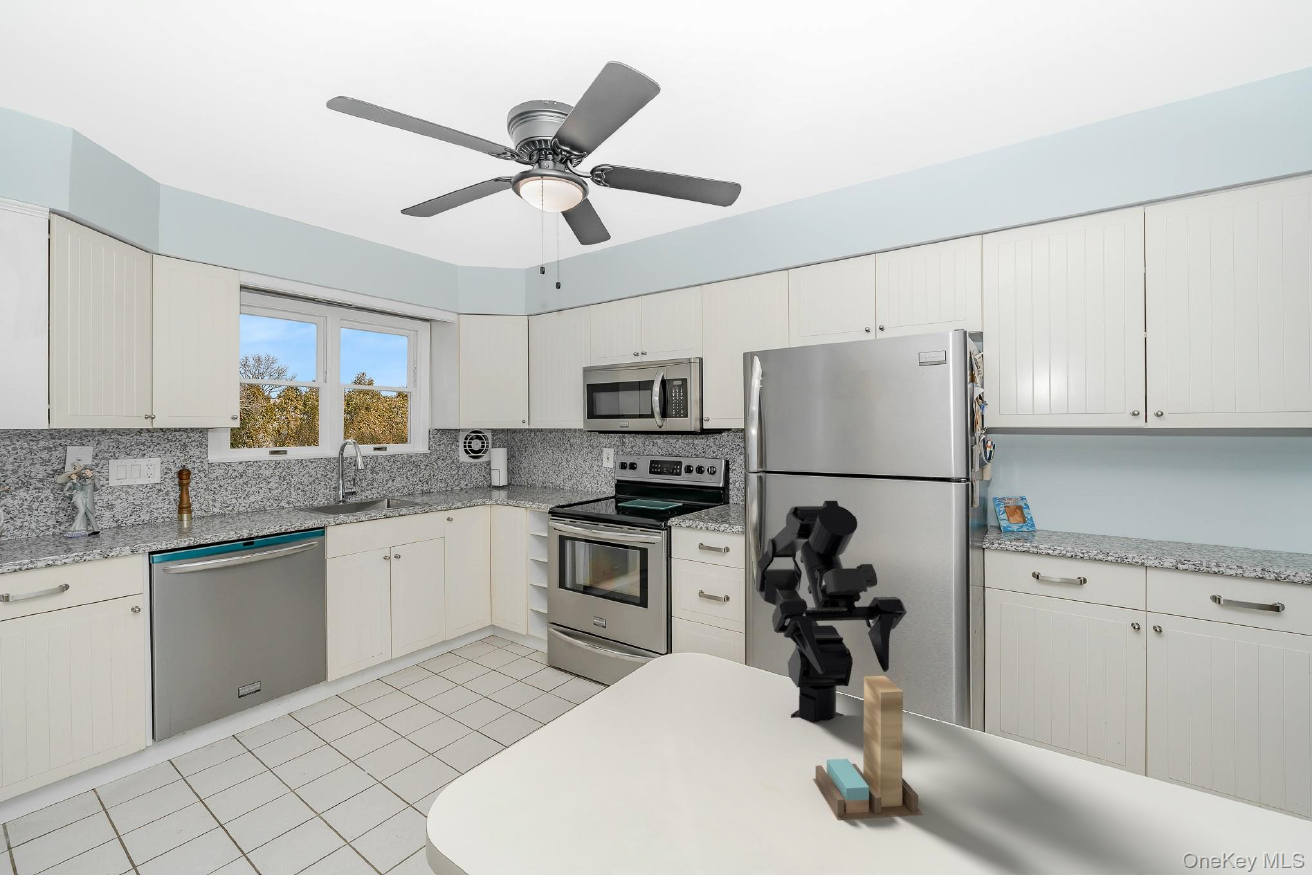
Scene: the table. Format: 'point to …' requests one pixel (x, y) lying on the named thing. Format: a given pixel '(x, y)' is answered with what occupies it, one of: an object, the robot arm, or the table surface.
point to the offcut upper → (847, 780)
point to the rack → (875, 808)
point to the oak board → (883, 738)
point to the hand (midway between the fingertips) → (854, 671)
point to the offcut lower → (854, 804)
